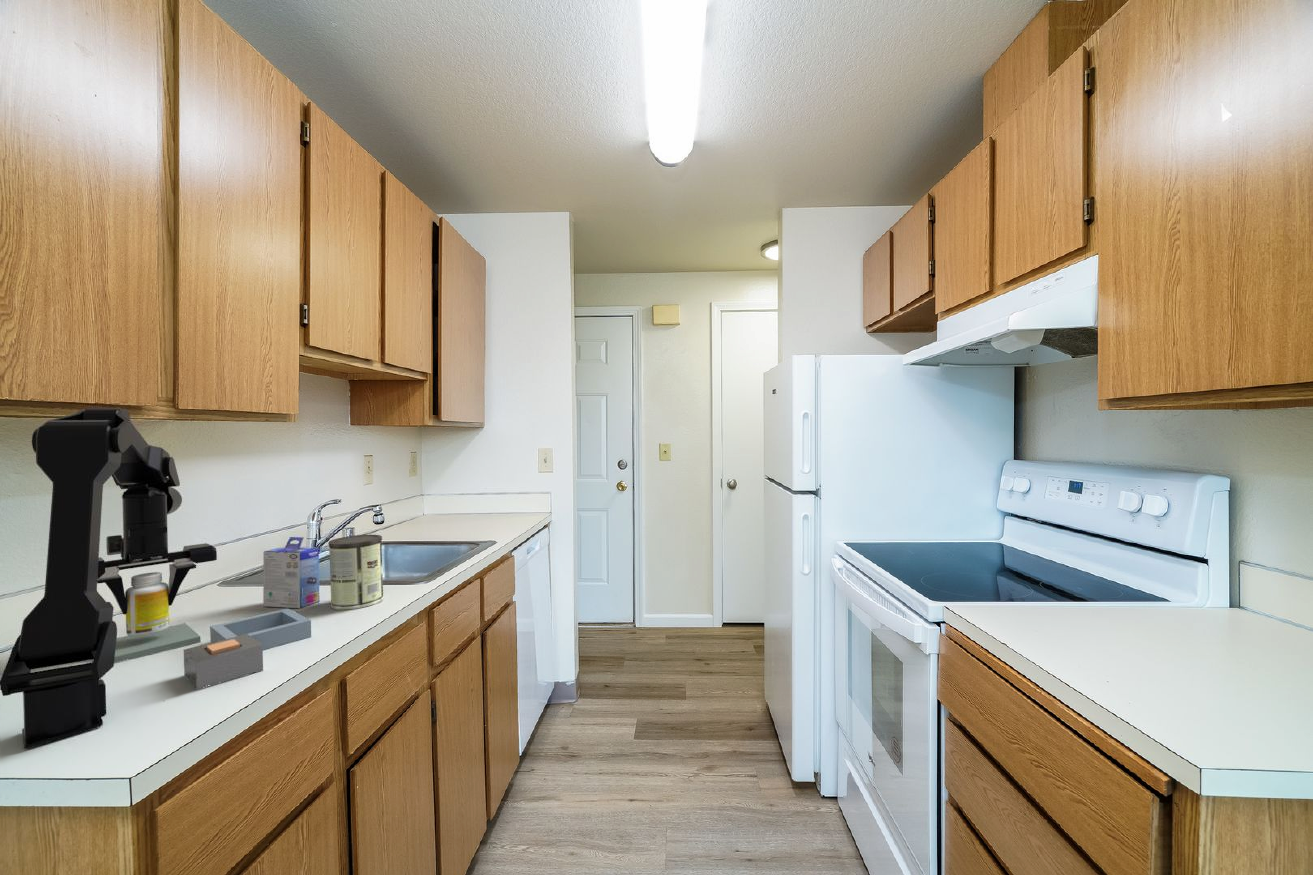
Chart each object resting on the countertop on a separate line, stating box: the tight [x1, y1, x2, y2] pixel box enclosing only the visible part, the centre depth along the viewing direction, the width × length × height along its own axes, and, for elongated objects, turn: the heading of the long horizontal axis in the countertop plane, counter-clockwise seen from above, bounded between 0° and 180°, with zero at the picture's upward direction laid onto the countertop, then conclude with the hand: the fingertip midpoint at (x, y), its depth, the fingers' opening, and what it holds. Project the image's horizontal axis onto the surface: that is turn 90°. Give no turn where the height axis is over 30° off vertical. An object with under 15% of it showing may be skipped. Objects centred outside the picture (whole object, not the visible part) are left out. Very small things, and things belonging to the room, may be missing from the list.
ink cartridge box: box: [262, 536, 320, 609], centre depth 118 cm, size 10×6×14 cm, turn 78°
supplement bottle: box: [124, 571, 170, 637], centre depth 96 cm, size 6×6×10 cm
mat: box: [114, 622, 202, 664], centre depth 96 cm, size 12×12×1 cm
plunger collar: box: [183, 634, 264, 690], centre depth 83 cm, size 8×8×4 cm
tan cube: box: [206, 639, 240, 655], centre depth 83 cm, size 3×3×3 cm
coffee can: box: [328, 534, 384, 611], centre depth 118 cm, size 10×10×14 cm
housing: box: [209, 607, 312, 651], centre depth 97 cm, size 12×12×3 cm
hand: (147, 609), depth 95 cm, fingers closed on supplement bottle, 5 cm apart
